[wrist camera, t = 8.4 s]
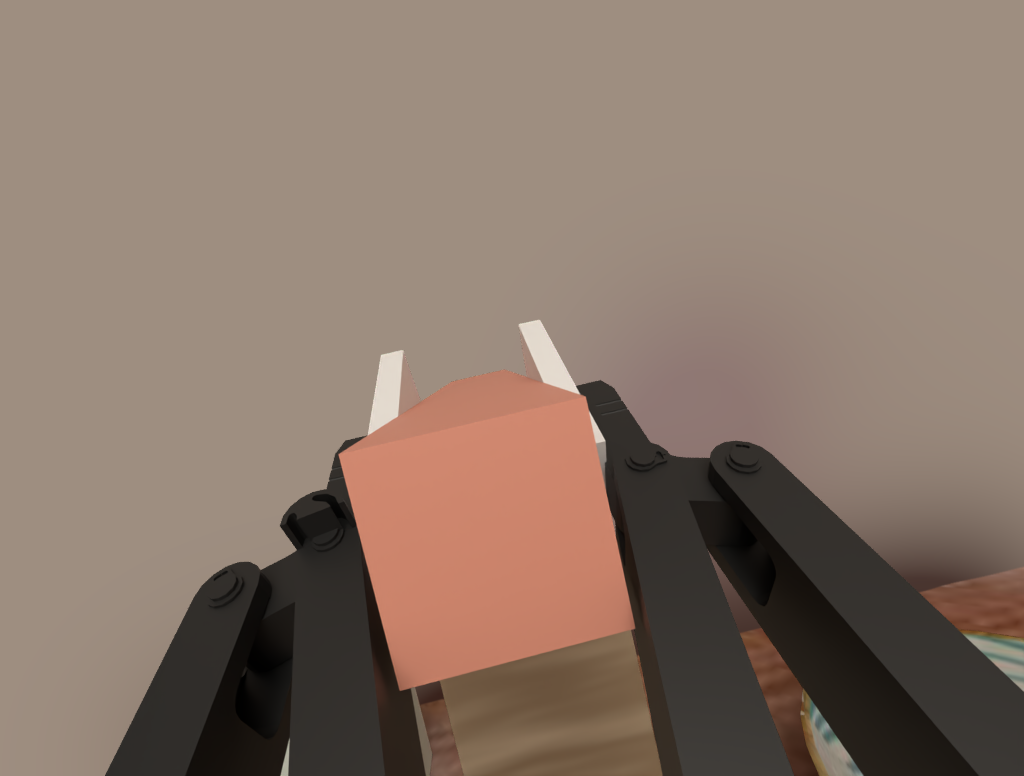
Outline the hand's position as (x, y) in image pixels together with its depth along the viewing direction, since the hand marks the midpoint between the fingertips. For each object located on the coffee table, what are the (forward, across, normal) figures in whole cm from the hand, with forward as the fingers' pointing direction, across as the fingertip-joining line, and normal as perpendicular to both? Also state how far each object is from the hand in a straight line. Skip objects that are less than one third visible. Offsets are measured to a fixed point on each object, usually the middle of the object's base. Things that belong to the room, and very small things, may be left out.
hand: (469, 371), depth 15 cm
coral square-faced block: (+1, 0, -6) cm, 6 cm away
